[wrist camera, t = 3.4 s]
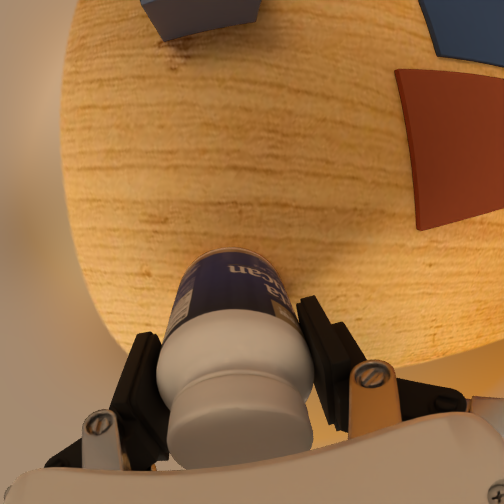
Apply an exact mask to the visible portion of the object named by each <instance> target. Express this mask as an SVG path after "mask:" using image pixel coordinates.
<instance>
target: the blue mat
mask: <svg viewBox="0 0 504 504" xmlns="http://www.w3.org/2000/svg"><path fill="white" fill-rule="evenodd" d="M418 1H419V3H420V6H421V9H422V11H423V14H424V17H425V20H426V23H427V25H428V29H429V32H430V35H431V38H432V41H433V44H434V48H435V51H436V55H437V56H438V57H446V58H454V59H461V60H468V61H474V62H479V63H485V64H490V65H495V66H499V67H504V0H418Z"/></svg>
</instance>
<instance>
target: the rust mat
mask: <svg viewBox="0 0 504 504" xmlns="http://www.w3.org/2000/svg"><path fill="white" fill-rule="evenodd" d="M395 76H396V80H397V84H398V88H399V93H400V98H401V102H402V107H403V113H404V118H405V124H406V130H407V136H408V142H409V149H410V157H411V165H412V174H413V183H414V195H415V209H416V228H417V229H418V230H420V231H423V230H427V229H431V228H434V227H438V226H442V225H445V224H449V223H453V222H456V221H460V220H464V219H467V218H471V217H474V216H478V215H481V214H485V213H488V212H492V211H495V210H499V209H502V208H504V79H501V78H495V77H489V76H482V75H475V74H468V73H459V72H449V71H436V70H419V69H397V70H395Z"/></svg>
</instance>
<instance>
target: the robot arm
mask: <svg viewBox="0 0 504 504" xmlns="http://www.w3.org/2000/svg"><path fill="white" fill-rule="evenodd" d="M296 307H297V313H298V318H299V324H300V327H301V329H302V332H303V335H304V337H305V340H306V342H307V345H308V347H309V350H310V353H311V356H312V359H313V364H314V382H313V383H314V385H315V388H316V391H317V394H318V397H319V399H320V402H321V405H322V408H323V410H324V413H325V416H326V419H327V422H328V424H329V425H331V424H334V425H335V428H336V431H339V430H341V431H344V432H347V433H348V440H346V441H342V442H339V443H336V444H332V445H328V446H325V447H321V448H317V449H314V450H310V451H306V452H301V453H297V454H293V455H288V456H283V457H279V458H274V459H268V460H263V461H257V462H251V463H245V464H238V465H230V466H222V467H213V468H203V469H190V470H172V471H157V470H156V466H155V464H154V463H156V462H157V461H167V460H169V453H170V452H169V450H168V445H167V433H168V425H169V418H170V412H171V411H170V410H169V409H168V407H167V406H166V405H165V403H164V401H163V399H162V398H161V396H160V393H159V390H158V386H157V380H156V370H157V364H158V360H159V354H160V350H161V347H162V344H161V342H160V340H159V338H158V336H157V335H156V334H154V335H153V333H152V332H145V333H139V334H137V336H136V338H135V341H134V343H133V346H132V348H131V351H130V353H129V356H128V358H127V361H126V363H125V366H124V369H123V371H122V374H121V377H120V379H119V382H118V385H117V387H116V390H115V393H114V396H113V399H112V401H111V405H110V407H109V410H107V409H102V410H98V411H95V412H93V413H92V414H91V415H89V416H88V417H87V418H86V419H85V421H84V423H83V426H82V438H80V439H79V440H77V441H76V442H74V443H73V444H71V445H70V446H69V447H67V448H65V449H64V450H62V451H61V452H59V453H58V454H56V455H55V456H53V457H52V458H50V459H49V460H48V461H47V463H46V464H45V466H44V468H40V469H36V470H32V471H28V472H26V473H24V474H22V475H20V476H19V477H18V478H17V479H16V480H15V481H14V483H13V484H12V485H11V486H10V487H8V488H7V490H6V492H5V495H4V503H3V504H504V398H491V397H478V396H472V399H465V397H464V396H463V395H462V393H460V392H459V391H457V390H454V389H451V388H445V387H440V386H435V385H430V384H424V383H419V382H414V381H409V380H405V379H400V378H396V375H395V372H394V368H393V367H392V366H391V365H390V364H389V363H387V362H385V361H382V360H367V359H366V358H365V356H364V354H363V353H362V351H361V350H360V348H359V346H358V345H357V343H356V341H355V340H354V338H353V337H352V335H351V333H350V332H349V330H348V329H347V327H346V325H345V324H344V323H343V322H338V323H335V324H331V323H330V321H329V319H328V318H327V316H326V314H325V312H324V311H323V309H322V307H321V305H320V304H319V302H318V300H317V298H316V297H315V295H313V296H309V297H305V298H302V299H301V303H297V304H296Z"/></svg>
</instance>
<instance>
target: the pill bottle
mask: <svg viewBox="0 0 504 504" xmlns="http://www.w3.org/2000/svg"><path fill="white" fill-rule="evenodd" d="M156 380H157V386H158V390H159V393H160V396H161V398H162V399H163V401H164V403H165V405H166V406H167V407H168V409H169V410H170V411H171V412H170V418H169V425H168V433H167V445H168V450H169V452H170V454H171V455H172V457H173V458H174V459H175V461H176V462H177V463H178V464H179V465H181V466H182V467H183V468H185V469H186V470H190V469H203V468H213V467H222V466H230V465H238V464H245V463H251V462H257V461H263V460H268V459H274V458H279V457H283V456H288V455H293V454H297V453H301V452H306V451H310V449H311V447H312V443H313V430H312V427H311V423H310V420H309V416H308V411H307V407H306V405H305V402H306V401H307V399H308V397H309V395H310V393H311V390H312V387H313V382H314V364H313V359H312V356H311V353H310V350H309V347H308V345H307V342H306V340H305V337H304V335H303V332H302V329H301V327H300V324H299V322H298V319H297V317H296V314H295V312H294V310H293V308H292V305H291V303H290V301H289V298H288V296H287V293H286V291H285V289H284V286H283V284H282V281H281V279H280V277H279V275H278V273H277V272H276V270H275V269H274V267H273V266H272V265H271V264H270V263H269V262H268V261H267V260H266V259H264V258H263V257H262V256H260V255H258V254H257V253H255V252H252V251H250V250H247V249H242V248H236V247H225V248H219V249H215V250H212V251H209V252H207V253H205V254H203V255H202V256H200V257H198V258H197V259H196V260H195V261H194V262H193V263H192V264H191V265H190V266H189V267H188V269H187V270H186V272H185V273H184V275H183V277H182V280H181V282H180V285H179V288H178V291H177V295H176V298H175V302H174V305H173V308H172V312H171V315H170V319H169V322H168V326H167V330H166V333H165V337H164V340H163V344H162V347H161V350H160V354H159V360H158V364H157V370H156Z"/></svg>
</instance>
